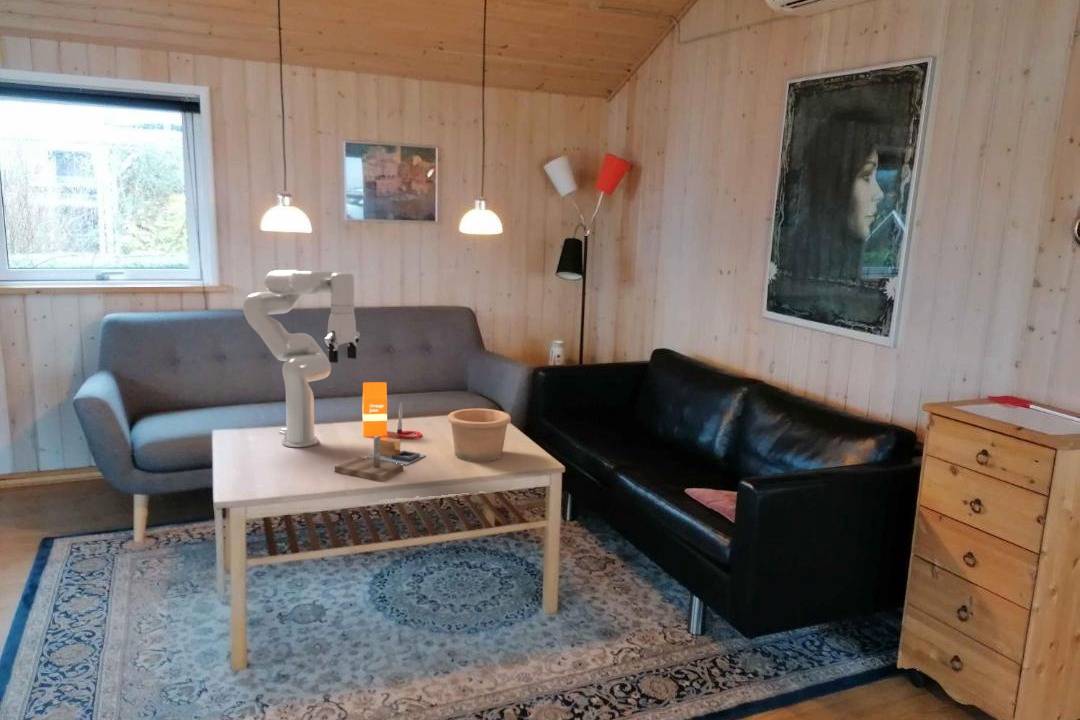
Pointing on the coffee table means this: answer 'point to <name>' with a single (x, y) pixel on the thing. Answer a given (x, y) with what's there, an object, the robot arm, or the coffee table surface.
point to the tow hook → (401, 433)
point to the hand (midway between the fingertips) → (342, 360)
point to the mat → (389, 459)
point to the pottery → (478, 433)
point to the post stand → (369, 466)
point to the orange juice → (374, 409)
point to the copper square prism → (395, 450)
